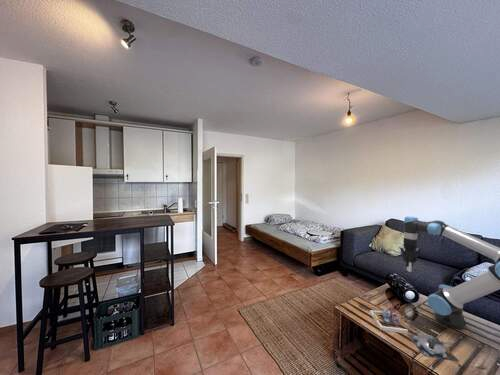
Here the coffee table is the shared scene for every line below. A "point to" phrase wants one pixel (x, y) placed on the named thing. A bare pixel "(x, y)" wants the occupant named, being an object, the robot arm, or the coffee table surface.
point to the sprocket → (432, 345)
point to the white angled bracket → (373, 314)
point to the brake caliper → (390, 317)
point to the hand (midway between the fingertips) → (409, 271)
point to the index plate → (426, 354)
